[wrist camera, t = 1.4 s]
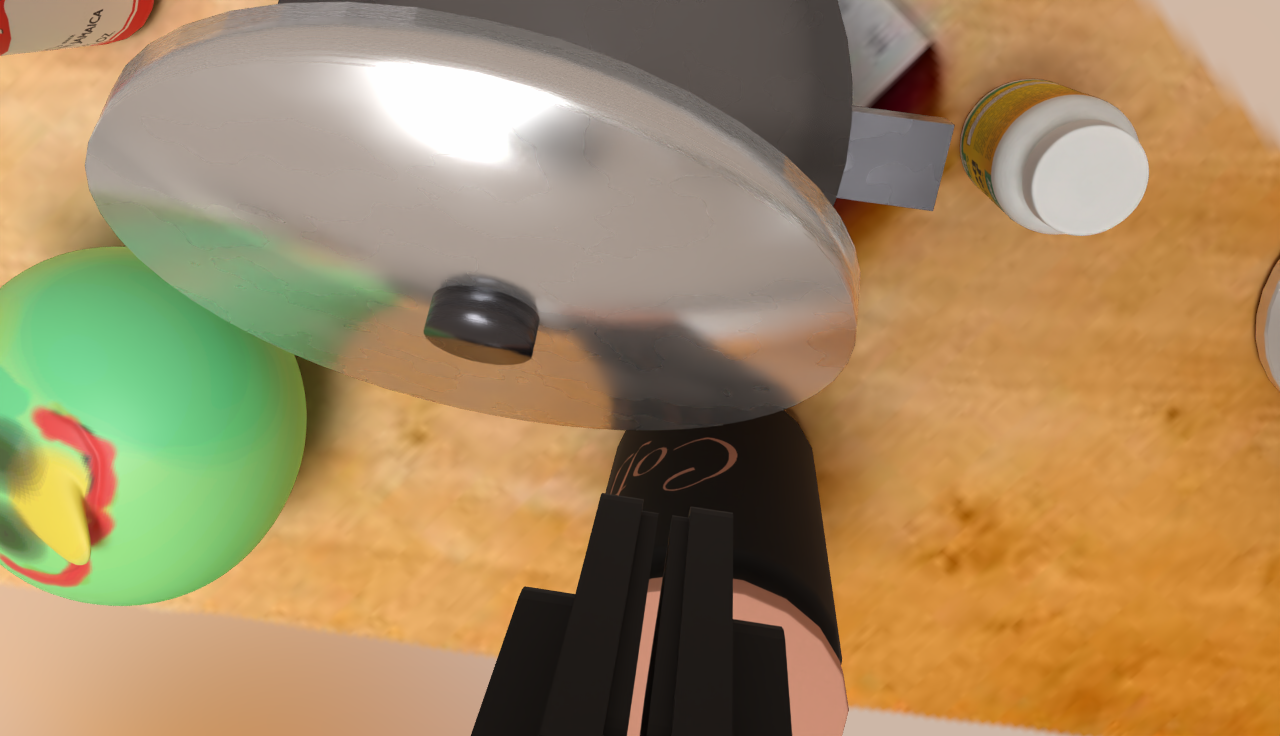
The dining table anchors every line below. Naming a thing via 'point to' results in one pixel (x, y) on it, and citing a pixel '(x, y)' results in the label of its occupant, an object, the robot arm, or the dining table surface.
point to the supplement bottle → (1054, 157)
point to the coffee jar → (748, 545)
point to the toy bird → (135, 432)
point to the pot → (752, 80)
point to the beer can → (67, 23)
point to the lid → (476, 217)
